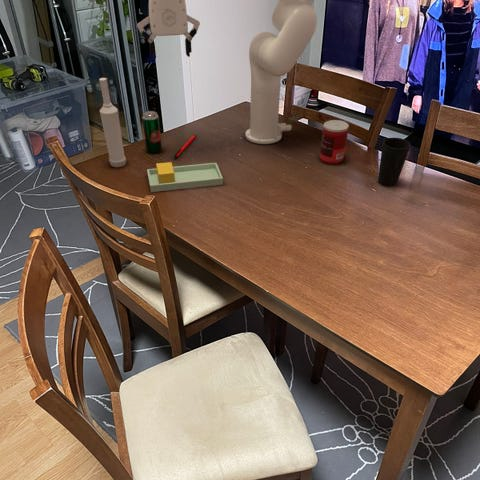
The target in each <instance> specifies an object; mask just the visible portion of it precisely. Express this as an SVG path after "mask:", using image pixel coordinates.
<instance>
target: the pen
mask: <svg viewBox="0 0 480 480" xmlns="http://www.w3.org/2000/svg"><path fill="white" fill-rule="evenodd" d="M196 136H197V134H193V135H192V136H191V137H190V138H189V139H188V140H187V142H185V144H184V145H182V147H181V148H179V150H178V151H177V152H176V153H175V154H174V157H173V160H175V159H178V157H179V156H180V155H181V154H182V153H183V152H184V151H185V149H186V148H187V147H188V146H189V145H190V144H191V143H192V142H193V140H194V139H195V138H196Z"/></svg>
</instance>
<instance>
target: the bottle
mask: <svg viewBox="0 0 480 480" xmlns="http://www.w3.org/2000/svg"><path fill="white" fill-rule="evenodd" d="M108 83H109V82H108V78H107V77H100V78H99V85H100V89H101V95H102V101H103V103H102V107H101V108H100V109H99V114H100V115H99V116H100V119H101V122H102V128H103V129H102V130H103V133H104V138H105V143H106V147H107V152H108V156H109V158H108V161H109V164H110V166H111V167H113V168H121V167H124V166H126V164H127V158H126V156H125V151H124V143H123V137H122V130H121V122H120V118H119V117H120V116H119V115H120V114H119V109H118V108H117V107H116V106H115V105H113V103H112V102H111V97H110V91H109V85H108Z"/></svg>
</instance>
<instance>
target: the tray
mask: <svg viewBox="0 0 480 480" xmlns="http://www.w3.org/2000/svg"><path fill="white" fill-rule="evenodd" d="M173 170H174V175H175V182H173V183H163V184H159V180H158V175H157V168H148V169H147V170H146V173H147V178H148V184H149V189H150V193H158V192H168V191H174V190H175V191H176V190H185V189H186V190H187V189H196V188H206V187H214V186H223V185H224V178H223V175H222V173H221V170H220V168H219V165H218V163H217V162H209V163H208V162H207V163H199V164H197V163H196V164H189V165H178V166H173Z"/></svg>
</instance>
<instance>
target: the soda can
mask: <svg viewBox="0 0 480 480" xmlns="http://www.w3.org/2000/svg"><path fill="white" fill-rule="evenodd" d="M141 119H142V128H143V136H144V142H145V143H144V144H145V150H146V151H147V153H150V154H159V153H161V152H162V150H163V145H162V136H161V127H160V118H159V115H158V112H156V111H154V110H148V111H144V112H143V113H142V116H141Z"/></svg>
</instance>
